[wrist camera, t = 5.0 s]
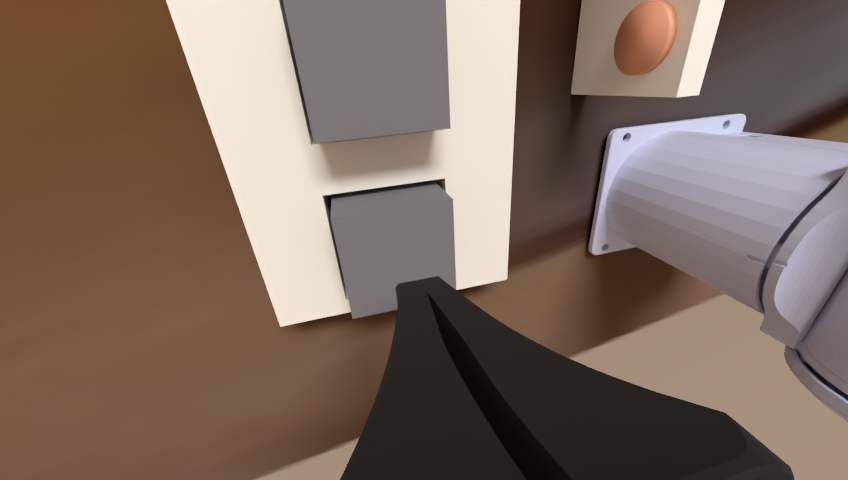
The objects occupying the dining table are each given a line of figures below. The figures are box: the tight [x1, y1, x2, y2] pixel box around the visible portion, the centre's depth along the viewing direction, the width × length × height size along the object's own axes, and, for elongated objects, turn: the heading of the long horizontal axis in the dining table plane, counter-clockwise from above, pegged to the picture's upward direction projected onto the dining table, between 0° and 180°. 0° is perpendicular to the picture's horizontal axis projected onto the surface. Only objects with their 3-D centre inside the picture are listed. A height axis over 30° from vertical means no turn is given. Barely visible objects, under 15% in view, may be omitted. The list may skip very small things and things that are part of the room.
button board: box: [166, 0, 520, 327], centre depth 13 cm, size 12×22×2 cm, turn 4°
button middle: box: [283, 0, 450, 144], centre depth 11 cm, size 5×5×3 cm
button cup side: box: [330, 181, 456, 319], centre depth 15 cm, size 5×5×3 cm
